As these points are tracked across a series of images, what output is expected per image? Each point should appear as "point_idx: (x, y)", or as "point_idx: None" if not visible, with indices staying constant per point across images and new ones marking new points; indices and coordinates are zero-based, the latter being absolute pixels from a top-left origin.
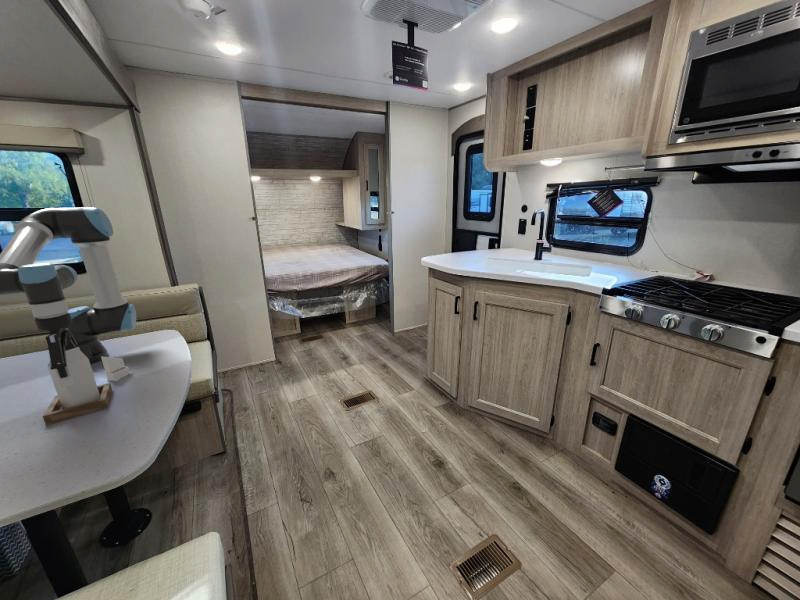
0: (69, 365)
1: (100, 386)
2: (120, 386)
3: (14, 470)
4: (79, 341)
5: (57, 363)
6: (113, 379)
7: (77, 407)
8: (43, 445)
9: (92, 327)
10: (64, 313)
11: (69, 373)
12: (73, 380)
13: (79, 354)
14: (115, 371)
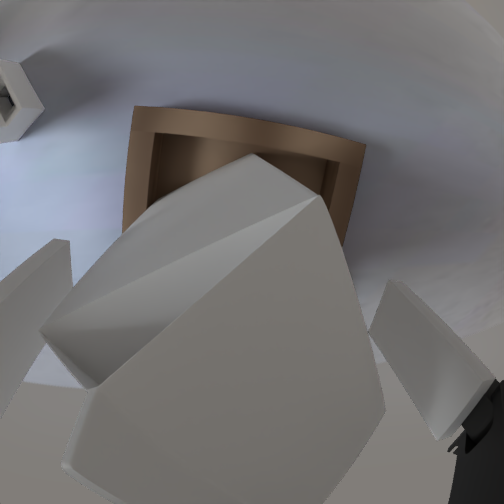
0: (371, 377)
1: (149, 148)
2: (126, 80)
3: (465, 329)
4: None
5: (465, 454)
6: (34, 116)
7: (343, 241)
8: (427, 302)
9: None
10: None
11: (451, 336)
12: (402, 293)
13: (235, 356)
14: None
